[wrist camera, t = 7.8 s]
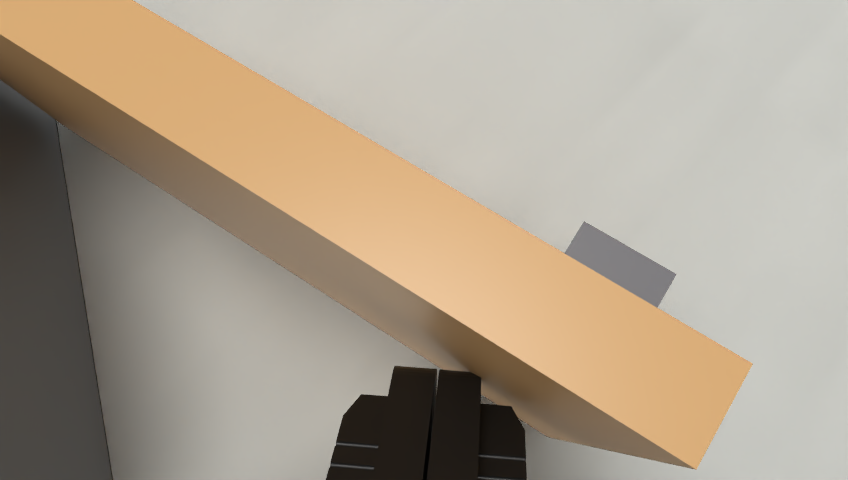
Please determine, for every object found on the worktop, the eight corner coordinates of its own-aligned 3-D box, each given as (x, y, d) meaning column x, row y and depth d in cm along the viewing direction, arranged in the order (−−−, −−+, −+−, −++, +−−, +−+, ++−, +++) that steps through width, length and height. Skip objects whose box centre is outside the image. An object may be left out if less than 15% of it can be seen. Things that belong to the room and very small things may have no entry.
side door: (547, 437, 16) (696, 470, 6) (50, 117, 19) (-471, -261, 9) (590, 363, 17) (805, 264, 6) (96, 59, 20) (-349, -372, 9)
